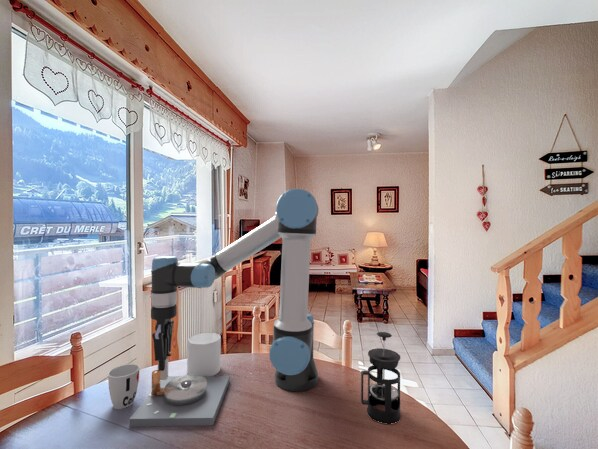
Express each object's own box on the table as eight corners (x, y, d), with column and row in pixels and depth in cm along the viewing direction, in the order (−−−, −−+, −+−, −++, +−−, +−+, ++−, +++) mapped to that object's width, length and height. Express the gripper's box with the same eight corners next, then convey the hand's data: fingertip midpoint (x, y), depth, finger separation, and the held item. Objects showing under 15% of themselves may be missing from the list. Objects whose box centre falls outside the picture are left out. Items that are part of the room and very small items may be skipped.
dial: (211, 382, 95) (211, 362, 95) (199, 404, 83) (200, 381, 83) (160, 382, 94) (160, 362, 94) (141, 405, 82) (142, 382, 82)
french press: (397, 404, 88) (397, 328, 88) (408, 425, 79) (408, 339, 79) (358, 403, 88) (358, 327, 89) (364, 424, 79) (365, 339, 79)
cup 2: (207, 360, 116) (207, 330, 116) (226, 369, 109) (227, 337, 109) (180, 372, 106) (180, 339, 106) (199, 382, 99) (200, 347, 99)
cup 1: (124, 414, 82) (125, 378, 82) (100, 410, 84) (100, 375, 84) (145, 397, 90) (145, 365, 90) (122, 394, 92) (123, 362, 92)
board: (229, 381, 100) (229, 375, 100) (213, 425, 78) (213, 417, 78) (164, 382, 99) (164, 375, 99) (129, 426, 77) (129, 418, 77)
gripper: (159, 299, 99) (158, 369, 99) (143, 310, 86) (141, 390, 86) (182, 299, 100) (180, 368, 100) (169, 310, 87) (168, 389, 87)
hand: (162, 378), depth 93 cm, fingers closed
